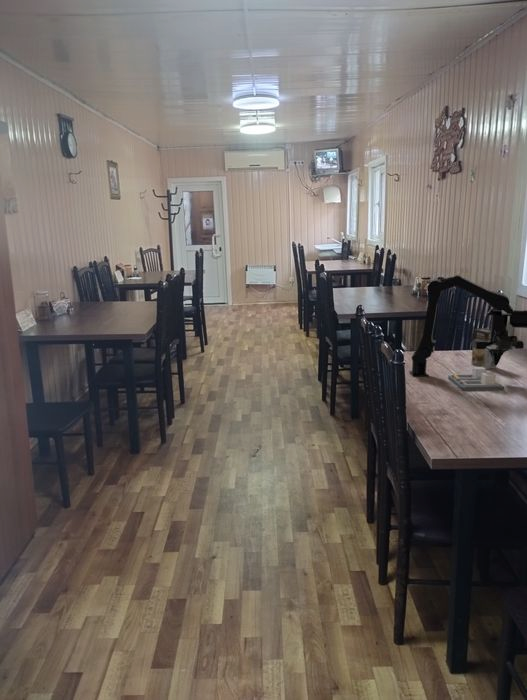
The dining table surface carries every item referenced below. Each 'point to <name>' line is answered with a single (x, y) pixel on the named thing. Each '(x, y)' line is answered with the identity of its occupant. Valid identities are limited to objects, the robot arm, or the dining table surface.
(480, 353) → the coffee box
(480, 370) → the light grey cube
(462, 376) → the switch panel
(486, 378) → the beige cube
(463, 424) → the dining table surface
